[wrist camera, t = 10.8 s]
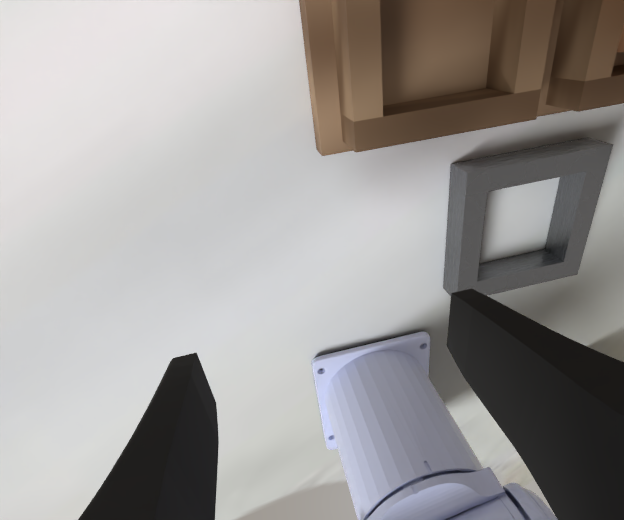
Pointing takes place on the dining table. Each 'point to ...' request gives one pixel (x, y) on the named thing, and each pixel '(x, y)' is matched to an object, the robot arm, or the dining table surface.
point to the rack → (454, 65)
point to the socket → (564, 224)
